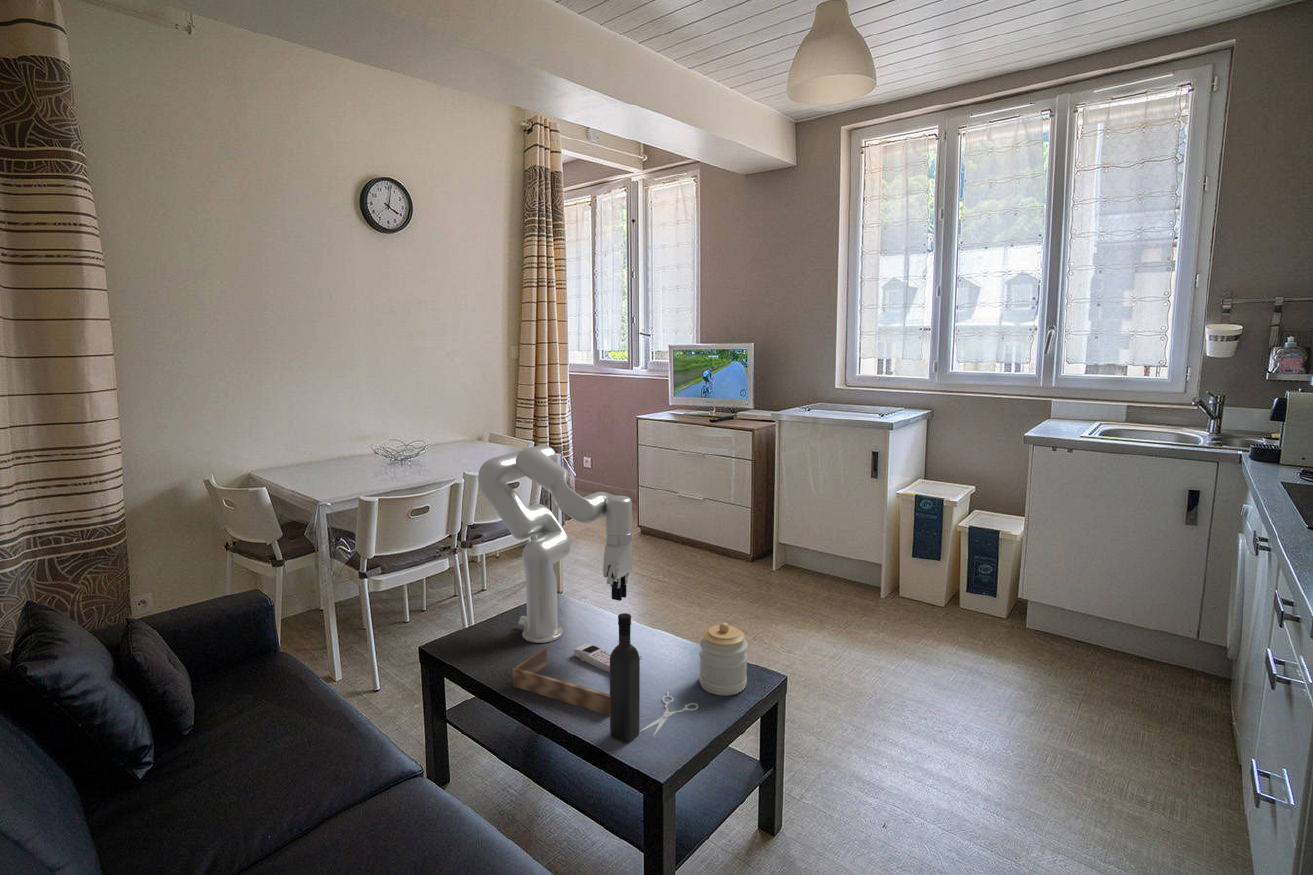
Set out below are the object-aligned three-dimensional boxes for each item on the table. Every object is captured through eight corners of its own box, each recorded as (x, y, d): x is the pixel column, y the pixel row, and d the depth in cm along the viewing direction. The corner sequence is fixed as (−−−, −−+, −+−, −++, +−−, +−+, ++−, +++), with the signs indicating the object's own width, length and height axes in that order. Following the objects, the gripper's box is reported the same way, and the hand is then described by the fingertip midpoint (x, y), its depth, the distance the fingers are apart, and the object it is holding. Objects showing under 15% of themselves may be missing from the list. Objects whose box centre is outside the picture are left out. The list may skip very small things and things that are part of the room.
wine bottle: (607, 736, 159) (607, 616, 155) (622, 725, 164) (622, 608, 159) (627, 745, 156) (627, 622, 151) (641, 733, 161) (641, 614, 156)
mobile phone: (629, 663, 183) (567, 636, 199) (628, 684, 184) (567, 655, 200) (643, 656, 187) (582, 630, 203) (643, 676, 188) (582, 648, 204)
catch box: (512, 686, 182) (512, 668, 181) (544, 663, 194) (543, 647, 193) (611, 715, 168) (611, 697, 167) (638, 689, 180) (638, 672, 179)
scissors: (702, 702, 174) (664, 740, 157) (702, 704, 174) (664, 743, 157) (667, 691, 179) (626, 727, 162) (667, 693, 179) (626, 730, 162)
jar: (746, 673, 189) (747, 614, 187) (747, 698, 177) (749, 634, 174) (699, 671, 191) (700, 612, 188) (698, 695, 178) (699, 632, 175)
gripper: (621, 529, 205) (621, 587, 208) (593, 543, 191) (593, 605, 194) (643, 533, 202) (642, 591, 204) (616, 547, 188) (616, 610, 190)
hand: (619, 597), depth 199 cm, fingers closed
